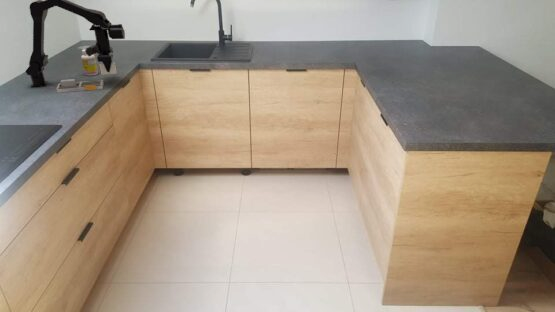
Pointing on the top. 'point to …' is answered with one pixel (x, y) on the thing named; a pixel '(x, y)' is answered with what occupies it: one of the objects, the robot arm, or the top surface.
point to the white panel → (104, 71)
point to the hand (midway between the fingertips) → (108, 71)
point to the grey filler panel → (68, 83)
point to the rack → (82, 86)
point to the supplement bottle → (89, 64)
